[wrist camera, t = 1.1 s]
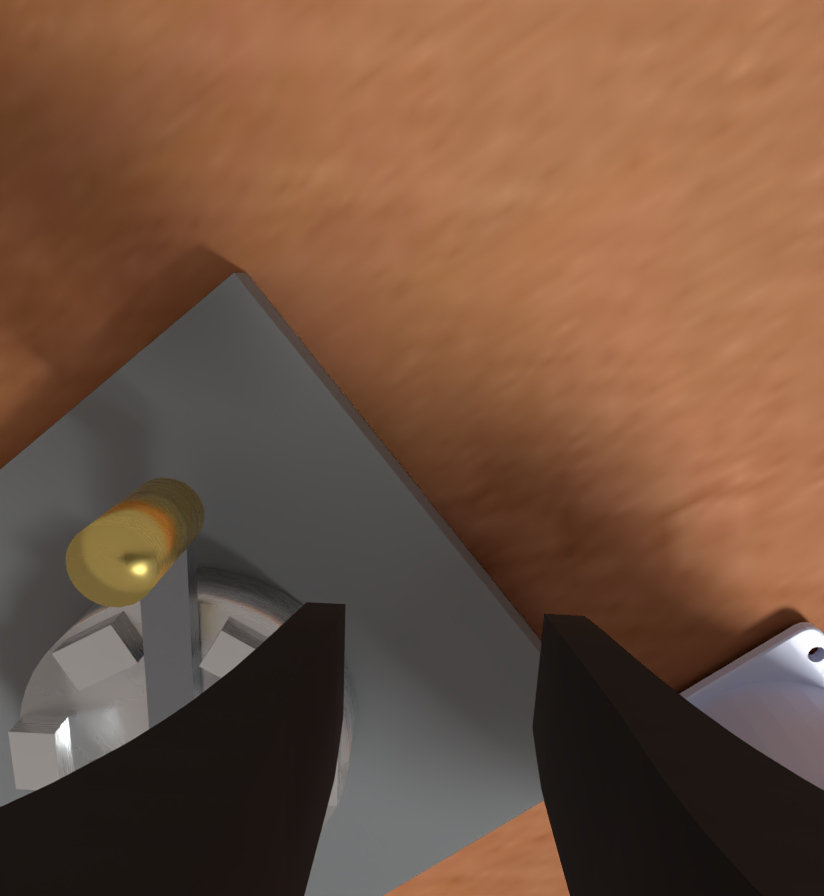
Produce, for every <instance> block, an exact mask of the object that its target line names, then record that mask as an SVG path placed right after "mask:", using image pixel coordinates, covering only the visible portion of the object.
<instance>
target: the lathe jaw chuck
mask: <svg viewBox="0 0 824 896" xmlns="http://www.w3.org/2000/svg"><path fill="white" fill-rule="evenodd" d="M204 520H205V512H204V507H203V504H202V501H201V500H200V498H199V496H198V495H197V493H196V492H195V491H194V490H193V489H192V488H191V487H190V486H188V485H187V484H185V483H183V482H181V481H179V480H176V479H173V478H155V479H152V480H149V481H147V482H146V483H144V484H143V485H141V486H140V487H139V488H137V489H136V490H135V491H133V492H132V493H131V494H129V495H128V496H127V497H125V498H124V499H123V500H121V501H120V502H119V503H117V504H116V505H115V506H114V507H112V508H111V509H110V510H108V511H107V512H106V513H104V514H103V515H102V516H100V517H99V518H98V519H96V520H95V521H94V522H92V523H91V524H90V525H88V526H87V527H86V528H84V529H83V530H82V531H80V532H79V533H78V534H77V535H76V536H75V537H74V538H73V539H72V541H71V542H70V544H69V546H68V549H67V552H66V569H67V572H68V575H69V578H70V580H71V581H72V583H73V585H74V586H75V587H76V589H77V590H78V591H79V592H80V593H81V594H82V595H84V596H85V597H86V598H88V599H89V600H91V601H93V602H95V604H94V605H93V606H92V607H91V608H90V609H89V610H88V611H87V612H86V613H85V614H84V615H83V616H82V617H81V618H80V619H79V620H78V621H77V622H76V623H75V624H74V625H73V626H72V627H71V628H70V629H69V630H68V631H67V632H66V633H65V634H64V635H63V636H62V637H61V638H60V639H59V640H58V641H57V642H56V643H55V644H54V645H53V646H52V647H51V648H50V650H49V651H48V652H47V653H46V654H45V655H44V656H43V658H42V659H41V661H40V662H39V664H38V665H37V667H36V668H35V670H34V671H33V674H32V676H31V678H30V680H29V682H28V685H27V687H26V690H25V694H24V697H23V701H22V705H21V713H20V719H19V720H18V721H17V723H16V724H15V725H14V726H13V727H12V728H11V729H10V730H9V731H8V734H9V741H10V749H11V756H12V763H13V771H14V778H15V786H16V789H23V790H38V789H40V788H42V787H44V786H47V785H49V784H51V783H53V782H55V781H57V780H59V779H60V778H62V777H64V776H66V775H68V774H70V773H72V772H74V771H75V770H77V769H79V768H81V767H83V766H85V765H87V764H89V763H90V762H92V761H94V760H96V759H98V758H100V757H102V756H104V755H105V754H107V753H109V752H111V751H113V750H115V749H117V748H119V747H121V746H122V745H124V744H126V743H127V742H129V741H131V740H132V739H134V738H136V737H137V736H139V735H141V734H142V733H144V732H145V731H147V730H149V729H150V728H152V727H153V726H155V725H157V724H158V723H160V722H161V721H163V720H164V719H166V718H168V717H169V716H171V715H172V714H174V713H175V712H176V711H178V710H179V709H181V708H182V707H184V706H185V705H187V704H188V703H189V702H191V701H192V700H194V699H195V698H196V697H198V696H199V695H200V694H202V693H203V692H204V691H205V690H207V689H208V688H209V687H210V686H212V685H213V684H214V683H216V682H217V681H218V680H219V679H221V678H222V677H223V676H225V675H226V674H227V673H228V672H230V671H231V670H232V669H233V668H235V667H236V666H237V665H238V664H239V663H240V662H241V661H243V660H244V659H245V658H246V657H247V656H248V655H249V654H250V653H252V652H253V651H254V650H255V649H256V648H257V647H258V646H260V645H261V644H262V643H263V642H264V641H265V640H266V639H267V638H268V637H269V636H270V635H272V634H273V633H274V632H275V631H276V630H277V629H278V628H279V627H280V626H281V625H282V624H283V623H284V622H285V621H286V620H287V619H289V618H290V617H291V616H292V615H293V614H294V613H295V612H296V611H297V610H298V609H299V608H301V607H302V605H300V604H299V603H298V602H297V601H295V600H294V599H292V598H291V597H289V596H287V595H286V594H284V593H283V592H281V591H280V590H278V589H276V588H274V587H272V586H270V585H268V584H266V583H264V582H261V581H259V580H256V579H253V578H250V577H247V576H245V575H241V574H237V573H233V572H228V571H224V570H217V569H208V568H196V550H195V538H196V537H197V536H198V535H199V533H200V532H201V530H202V528H203V525H204ZM355 715H356V705H355V693H354V688H353V683H352V678H351V675H350V672H349V669H348V667H347V664H346V661H345V659H344V708H343V723H342V731H341V738H340V745H339V752H338V759H337V766H336V773H335V779H334V783H333V787H332V791H331V795H330V799H329V803H328V807H327V811H326V814H325V818H324V822H323V826H322V829H323V827H324V826H325V825H326V824H327V822H328V820H329V819H330V817H331V816H332V814H333V813H334V811H335V809H336V807H337V804H338V802H339V800H340V798H341V795H342V792H343V788H344V785H345V781H346V777H347V771H348V764H349V758H350V751H351V745H352V739H353V732H354V725H355Z"/></svg>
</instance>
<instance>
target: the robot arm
mask: <svg viewBox="0 0 824 896" xmlns="http://www.w3.org/2000/svg"><path fill="white" fill-rule="evenodd" d="M345 607H346V604H333V603H313V602H306V603H305V604H304V605H303V606H302V607H301V608H299V609H298V610H297V611H296V612H295V613H294V614H293V615H292V616H291V617H290V618H289V619H287V620H286V621H285V622H284V623H283V624H282V625H281V626H280V627H279V628H278V629H277V630H276V631H275V632H274V633H273V634H272V635H270V636H269V637H268V638H267V639H266V640H265V641H264V642H263V643H262V644H261V645H260V646H258V647H257V648H256V649H255V650H254V651H253V652H252V653H250V654H249V655H248V656H247V657H246V658H245V659H244V660H243V661H241V662H240V663H239V664H238V665H237V666H236V667H235V668H233V669H232V670H231V671H230V672H228V673H227V674H226V675H225V676H223V677H222V678H221V679H219V680H218V681H217V682H216V683H214V684H213V685H212V686H210V687H209V688H208V689H207V690H205V691H204V692H203V693H202V694H200V695H199V696H198V697H196V698H195V699H194V700H192V701H191V702H189V703H188V704H187V705H185V706H184V707H182V708H181V709H179V710H178V711H176V712H175V713H174V714H172V715H171V716H169V717H168V718H166V719H164V720H163V721H161V722H160V723H158V724H157V725H155V726H153V727H152V728H150V729H149V730H147V731H145V732H144V733H142V734H141V735H139V736H137V737H136V738H134V739H132V740H131V741H129V742H127V743H126V744H124V745H122V746H121V747H119V748H117V749H115V750H113V751H111V752H109V753H107V754H105V755H104V756H102V757H100V758H98V759H96V760H94V761H92V762H90V763H89V764H87V765H85V766H83V767H81V768H79V769H77V770H75V771H74V772H72V773H70V774H68V775H66V776H64V777H62V778H60V779H59V780H57V781H55V782H53V783H51V784H49V785H47V786H44V787H42V788H40V789H38V790H36V791H34V792H32V793H29V794H27V795H25V796H23V797H21V798H19V799H16V800H14V801H12V802H10V803H8V804H6V805H3V806H1V807H0V896H304V895H305V891H306V887H307V884H308V880H309V876H310V872H311V868H312V864H313V861H314V857H315V853H316V849H317V845H318V842H319V838H320V834H321V830H322V826H323V822H324V818H325V814H326V811H327V807H328V803H329V799H330V795H331V791H332V787H333V783H334V779H335V773H336V766H337V759H338V752H339V745H340V738H341V731H342V723H343V708H344V657H345ZM815 647H818V649H817V651H816V652H815V653H814V654H811V655H808V653H809V651H810V650H811V649H812V648H815ZM532 729H533V736H534V743H535V751H536V758H537V765H538V771H539V778H540V784H541V790H542V794H543V798H544V802H545V805H546V809H547V813H548V817H549V820H550V824H551V828H552V831H553V835H554V839H555V843H556V846H557V850H558V853H559V857H560V861H561V864H562V868H563V872H564V875H565V879H566V882H567V886H568V890H569V893H570V896H824V634H823V633H822V632H821V631H820V630H819V629H818V628H817V627H816V626H815V625H813V624H811V623H808V622H800V623H798V624H795V625H793V626H791V627H790V628H788V629H786V630H785V631H783V632H781V633H780V634H778V635H776V636H775V637H773V638H771V639H770V640H768V641H766V642H765V643H763V644H761V645H760V646H758V647H756V648H755V649H753V650H751V651H750V652H748V653H746V654H745V655H743V656H741V657H740V658H738V659H736V660H735V661H733V662H731V663H730V664H728V665H726V666H725V667H723V668H721V669H720V670H718V671H716V672H715V673H713V674H711V675H710V676H708V677H706V678H705V679H703V680H701V681H700V682H698V683H696V684H695V685H693V686H691V687H690V688H688V689H686V690H685V691H683V692H681V693H680V694H678V693H677V692H676V691H675V690H673V689H672V688H671V687H669V686H668V685H667V684H666V683H664V682H663V681H662V680H661V679H660V678H658V677H657V676H656V675H655V674H653V673H652V672H651V671H650V670H649V669H647V668H646V667H645V666H644V665H643V664H641V663H640V662H639V661H638V660H637V659H635V658H634V657H633V656H632V655H631V654H630V653H628V652H627V651H626V650H625V649H624V648H622V647H621V646H620V645H619V644H618V643H617V642H615V641H614V640H613V639H612V638H611V637H610V636H608V635H607V634H606V633H605V632H604V631H602V630H601V629H600V628H599V627H598V626H596V625H595V624H594V623H593V622H591V621H590V620H589V619H587V618H586V617H584V616H572V615H552V614H544V623H543V633H542V642H541V651H540V660H539V670H538V679H537V688H536V698H535V707H534V716H533V725H532Z"/></svg>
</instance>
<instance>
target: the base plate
mask: <svg viewBox="0 0 824 896" xmlns="http://www.w3.org/2000/svg"><path fill="white" fill-rule="evenodd" d="M155 478H173V479H176V480H179V481H181V482H183V483H185V484H187V485H188V486H190V487H191V488H192V489H193V490H194V491H195V492H196V493H197V495H198V496H199V498H200V500H201V501H202V504H203V507H204V512H205V520H204V525H203V528H202V530H201V532H200V533H199V535H198V536H197V537H196V538H195V550H196V568H208V569H217V570H224V571H228V572H233V573H237V574H241V575H245V576H247V577H250V578H253V579H256V580H259V581H261V582H264V583H266V584H268V585H270V586H272V587H274V588H276V589H278V590H280V591H281V592H283V593H284V594H286V595H287V596H289V597H291V598H292V599H294V600H295V601H297V602H298V603H299V604H300V605H302V606H303V605H304V604H305V603H306V602H313V603H333V604H346V607H345V657H344V659H345V661H346V664H347V667H348V669H349V672H350V675H351V678H352V683H353V688H354V693H355V705H356V715H355V725H354V732H353V739H352V745H351V751H350V758H349V764H348V771H347V777H346V781H345V785H344V788H343V792H342V795H341V798H340V800H339V802H338V804H337V807H336V809H335V811H334V813H333V814H332V816H331V817H330V819H329V820H328V822H327V824H326V825H325V826H324V827H323V829H322V830H321V834H320V838H319V842H318V845H317V849H316V853H315V857H314V861H313V864H312V868H311V872H310V876H309V880H308V884H307V887H306V891H305V895H304V896H383V895H385V894H386V893H388V892H390V891H391V890H393V889H395V888H396V887H398V886H400V885H402V884H403V883H405V882H407V881H408V880H410V879H412V878H413V877H415V876H417V875H418V874H420V873H422V872H424V871H425V870H427V869H429V868H430V867H432V866H434V865H435V864H437V863H439V862H440V861H442V860H444V859H446V858H447V857H449V856H451V855H452V854H454V853H456V852H457V851H459V850H461V849H462V848H464V847H466V846H468V845H469V844H471V843H473V842H474V841H476V840H478V839H479V838H481V837H483V836H484V835H486V834H488V833H490V832H491V831H493V830H495V829H496V828H498V827H500V826H501V825H503V824H505V823H506V822H508V821H510V820H511V819H513V818H515V817H517V816H518V815H520V814H522V813H523V812H525V811H527V810H528V809H530V808H532V807H533V806H535V805H537V804H539V803H540V802H542V801H544V798H543V794H542V790H541V784H540V778H539V771H538V765H537V758H536V751H535V743H534V736H533V729H532V725H533V716H534V707H535V698H536V688H537V679H538V670H539V660H540V651H541V640H540V639H539V638H538V637H537V635H536V634H535V633H534V632H533V630H532V629H531V628H530V627H529V625H528V624H527V623H526V622H525V620H524V619H523V618H522V617H521V615H520V614H519V613H518V612H517V610H516V609H515V608H514V607H513V605H512V604H511V603H510V602H509V600H508V599H507V598H506V597H505V595H504V594H503V593H502V592H501V590H500V589H499V588H498V587H497V585H496V584H495V583H494V582H493V580H492V579H491V578H490V577H489V575H488V574H487V573H486V572H485V570H484V569H483V568H482V567H481V565H480V564H479V563H478V562H477V560H476V559H475V558H474V557H473V555H472V554H471V553H470V552H469V550H468V549H467V548H466V547H465V545H464V544H463V543H462V542H461V540H460V539H459V538H458V537H457V535H456V534H455V533H454V532H453V530H452V529H451V528H450V527H449V525H448V524H447V523H446V522H445V520H444V519H443V518H442V517H441V515H440V514H439V513H438V512H437V510H436V509H435V508H434V507H433V505H432V504H431V503H430V502H429V500H428V499H427V498H426V497H425V495H424V494H423V493H422V492H421V490H420V489H419V488H418V487H417V485H416V484H415V483H414V482H413V480H412V479H411V478H410V477H409V475H408V474H407V473H406V472H405V470H404V469H403V468H402V467H401V465H400V464H399V463H398V462H397V460H396V459H395V458H394V457H393V455H392V454H391V453H390V452H389V450H388V449H387V448H386V447H385V445H384V444H383V443H382V442H381V440H380V439H379V438H378V437H377V435H376V434H375V433H374V432H373V430H372V429H371V428H370V427H369V425H368V424H367V423H366V422H365V420H364V419H363V418H362V417H361V415H360V414H359V413H358V412H357V410H356V409H355V408H354V407H353V405H352V404H351V403H350V402H349V400H348V399H347V398H346V397H345V395H344V394H343V393H342V392H341V390H340V389H339V388H338V387H337V385H336V384H335V383H334V382H333V380H332V379H331V378H330V377H329V375H328V374H327V373H326V371H325V370H324V369H323V368H322V366H321V365H320V364H319V363H318V361H317V360H316V359H315V358H314V356H313V355H312V354H311V353H310V351H309V350H308V349H307V348H306V346H305V345H304V344H303V343H302V341H301V340H300V339H299V338H298V336H297V335H296V334H295V333H294V331H293V330H292V329H291V328H290V326H289V325H288V324H287V323H286V321H285V320H284V319H283V318H282V316H281V315H280V314H279V313H278V311H277V310H276V309H275V308H274V306H273V305H272V304H271V303H270V301H269V300H268V299H267V298H266V296H265V295H264V294H263V293H262V291H261V290H260V289H259V288H258V286H257V285H256V284H255V283H254V281H253V280H252V279H251V278H250V276H249V275H248V274H247V273H233V274H232V275H231V276H229V277H228V278H227V279H226V280H225V281H223V282H222V283H221V284H220V285H219V286H217V287H216V288H215V289H214V290H213V291H212V292H210V293H209V294H208V295H207V296H206V297H204V298H203V299H202V300H201V301H200V302H199V303H197V304H196V305H195V306H194V307H193V308H191V309H190V310H189V311H188V312H187V313H185V314H184V315H183V316H182V317H181V318H180V319H178V320H177V321H176V322H175V323H174V324H172V325H171V326H170V327H169V328H168V329H166V330H165V331H164V332H163V333H162V334H161V335H159V336H158V337H157V338H156V339H155V340H153V341H152V342H151V343H150V344H149V345H147V346H146V347H145V348H144V349H143V350H142V351H140V352H139V353H138V354H137V355H136V356H134V357H133V358H132V359H131V360H130V361H129V362H127V363H126V364H125V365H124V366H123V367H121V368H120V369H119V370H118V371H117V372H115V373H114V374H113V375H112V376H111V377H110V378H108V379H107V380H106V381H105V382H104V383H102V384H101V385H100V386H99V387H98V388H96V389H95V390H94V391H93V392H92V393H91V394H89V395H88V396H87V397H86V398H85V399H83V400H82V401H81V402H80V403H79V404H77V405H76V406H75V407H74V408H73V409H72V410H70V411H69V412H68V413H67V414H66V415H64V416H63V417H62V418H61V419H60V420H59V421H57V422H56V423H55V424H54V425H53V426H51V427H50V428H49V429H48V430H47V431H45V432H44V433H43V434H42V435H41V436H40V437H38V438H37V439H36V440H35V441H34V442H32V443H31V444H30V445H29V446H28V447H26V448H25V449H24V450H23V451H22V452H21V453H19V454H18V455H17V456H16V457H15V458H13V459H12V460H11V461H10V462H9V463H7V464H6V465H5V466H4V467H3V468H2V469H0V807H1V806H3V805H6V804H8V803H10V802H12V801H14V800H16V799H19V798H21V797H23V796H25V795H27V794H29V793H32V792H34V791H36V790H23V789H16V786H15V778H14V771H13V763H12V756H11V749H10V741H9V734H8V731H9V730H10V729H11V728H12V727H13V726H14V725H15V724H16V723H17V721H18V720H19V719H20V713H21V705H22V701H23V697H24V694H25V690H26V687H27V685H28V682H29V680H30V678H31V676H32V674H33V671H34V670H35V668H36V667H37V665H38V664H39V662H40V661H41V659H42V658H43V656H44V655H45V654H46V653H47V652H48V651H49V650H50V648H51V647H52V646H53V645H54V644H55V643H56V642H57V641H58V640H59V639H60V638H61V637H62V636H63V635H64V634H65V633H66V632H67V631H68V630H69V629H70V628H71V627H72V626H73V625H74V624H75V623H76V622H77V621H78V620H79V619H80V618H81V617H82V616H83V615H84V614H85V613H86V612H87V611H88V610H89V609H90V608H91V607H92V606H93V605H94V604H95V602H93V601H91V600H89V599H88V598H86V597H85V596H84V595H82V594H81V593H80V592H79V591H78V590H77V589H76V587H75V586H74V585H73V583H72V581H71V580H70V578H69V575H68V572H67V569H66V552H67V549H68V546H69V544H70V542H71V541H72V539H73V538H74V537H75V536H76V535H77V534H78V533H79V532H80V531H82V530H83V529H84V528H86V527H87V526H88V525H90V524H91V523H92V522H94V521H95V520H96V519H98V518H99V517H100V516H102V515H103V514H104V513H106V512H107V511H108V510H110V509H111V508H112V507H114V506H115V505H116V504H117V503H119V502H120V501H121V500H123V499H124V498H125V497H127V496H128V495H129V494H131V493H132V492H133V491H135V490H136V489H137V488H139V487H140V486H141V485H143V484H144V483H146V482H147V481H149V480H152V479H155Z"/></svg>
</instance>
